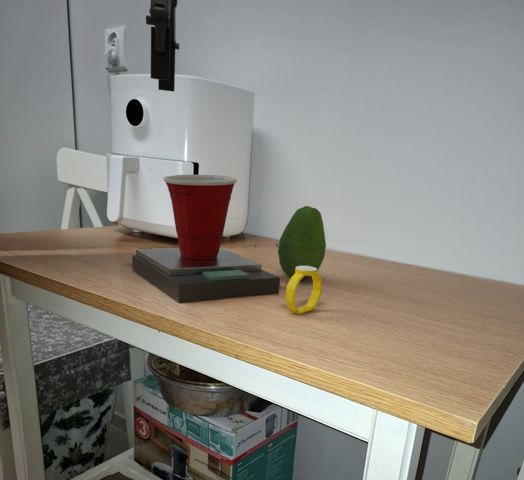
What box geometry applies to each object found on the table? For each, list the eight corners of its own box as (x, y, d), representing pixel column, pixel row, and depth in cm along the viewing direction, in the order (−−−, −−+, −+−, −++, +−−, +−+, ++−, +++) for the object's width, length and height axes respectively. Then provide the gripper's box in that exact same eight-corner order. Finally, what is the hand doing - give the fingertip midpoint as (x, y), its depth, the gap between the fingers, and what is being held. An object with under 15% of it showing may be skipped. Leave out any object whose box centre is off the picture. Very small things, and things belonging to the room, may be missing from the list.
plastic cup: (148, 252, 75) (147, 170, 71) (201, 247, 83) (204, 173, 78) (193, 266, 69) (195, 177, 64) (246, 260, 76) (252, 179, 72)
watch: (308, 305, 68) (313, 263, 65) (323, 310, 66) (329, 267, 64) (279, 312, 64) (283, 267, 61) (295, 318, 62) (300, 272, 60)
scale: (132, 270, 79) (131, 248, 77) (220, 266, 87) (220, 246, 86) (178, 302, 64) (179, 276, 63) (278, 293, 72) (281, 270, 71)
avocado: (330, 282, 82) (340, 209, 77) (292, 285, 78) (300, 208, 73) (303, 272, 88) (310, 203, 83) (266, 274, 84) (272, 202, 79)
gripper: (189, -118, 60) (184, 76, 68) (193, -43, 83) (188, 96, 91) (127, -129, 59) (128, 70, 67) (148, -49, 82) (147, 91, 90)
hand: (163, 85), depth 79 cm, fingers open, 13 cm apart
